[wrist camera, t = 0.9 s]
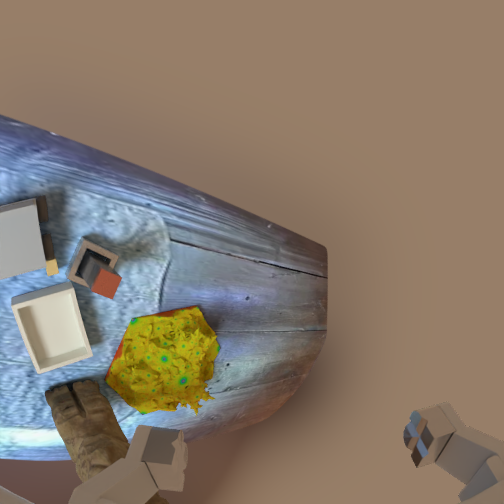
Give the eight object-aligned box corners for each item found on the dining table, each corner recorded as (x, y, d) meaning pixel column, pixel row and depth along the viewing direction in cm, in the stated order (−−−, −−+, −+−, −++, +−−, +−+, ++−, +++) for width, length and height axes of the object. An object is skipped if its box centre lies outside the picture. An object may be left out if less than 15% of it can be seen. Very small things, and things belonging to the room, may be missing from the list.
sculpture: (94, 370, 51) (168, 484, 30) (105, 402, 54) (179, 508, 33) (40, 387, 43) (91, 516, 22) (56, 418, 46) (113, 537, 25)
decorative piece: (234, 401, 71) (126, 443, 51) (216, 386, 76) (112, 420, 56) (244, 311, 65) (108, 344, 45) (221, 298, 71) (95, 323, 50)
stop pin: (77, 268, 46) (91, 291, 38) (85, 250, 46) (101, 268, 38) (94, 275, 48) (112, 299, 40) (102, 257, 48) (122, 277, 41)
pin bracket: (65, 273, 44) (67, 278, 42) (81, 236, 45) (84, 239, 43) (98, 288, 49) (102, 293, 47) (114, 252, 50) (118, 256, 48)
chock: (43, 257, 41) (44, 261, 39) (54, 255, 42) (56, 258, 40) (46, 271, 42) (47, 276, 40) (57, 268, 43) (59, 273, 41)
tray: (11, 297, 38) (11, 305, 35) (70, 281, 45) (73, 287, 43) (35, 363, 42) (38, 374, 40) (88, 346, 49) (93, 355, 47)
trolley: (-19, 209, 32) (-31, 220, 23) (44, 194, 39) (49, 200, 31) (-7, 270, 35) (-12, 298, 27) (53, 254, 42) (62, 276, 34)
